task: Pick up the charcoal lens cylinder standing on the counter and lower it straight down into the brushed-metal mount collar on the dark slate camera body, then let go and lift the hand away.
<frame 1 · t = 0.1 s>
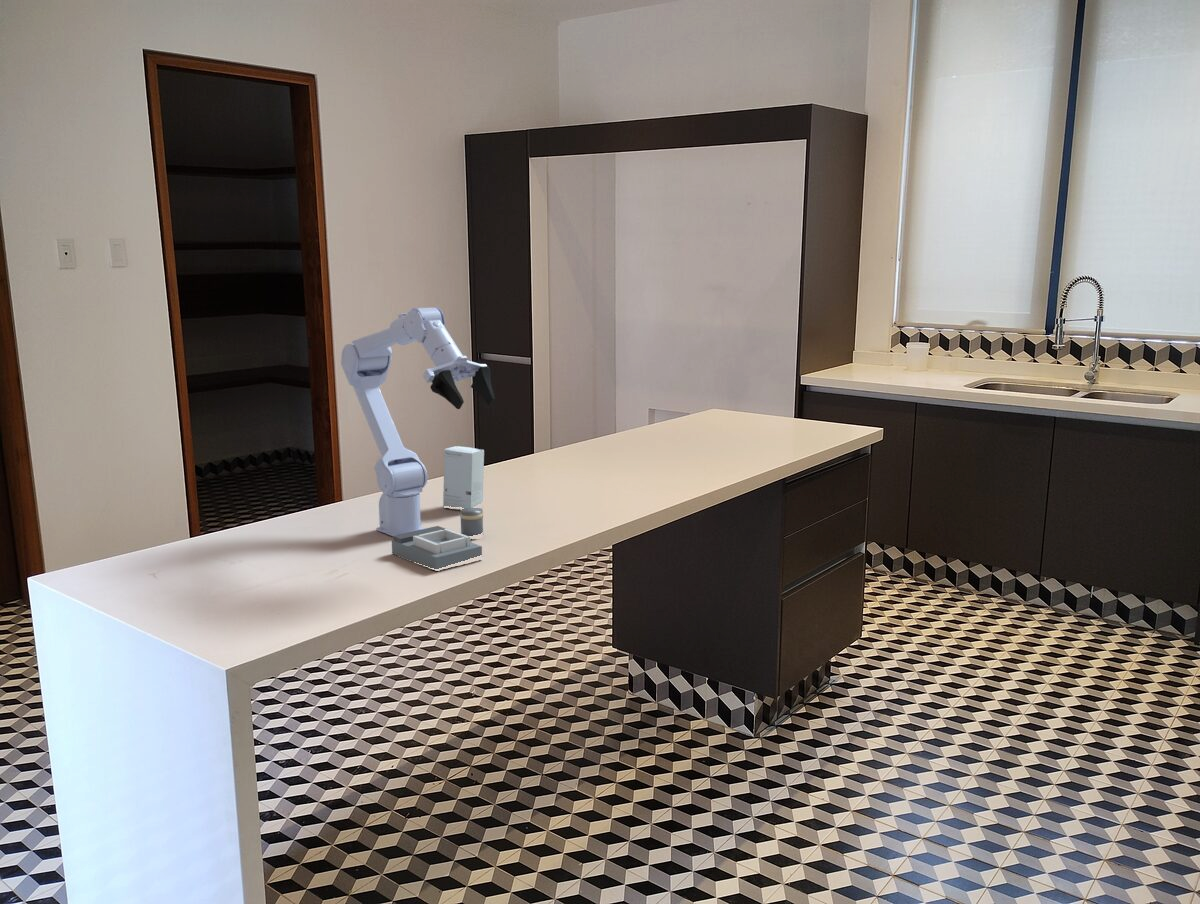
hand: (476, 403, 189), 32 cm above the kitchen island, tool tilted 50°, fingers open, 7 cm apart
skincare box: (464, 509, 235), on the kitchen island
lens: (472, 536, 212), on the kitchen island
camera body: (436, 557, 197), on the kitchen island
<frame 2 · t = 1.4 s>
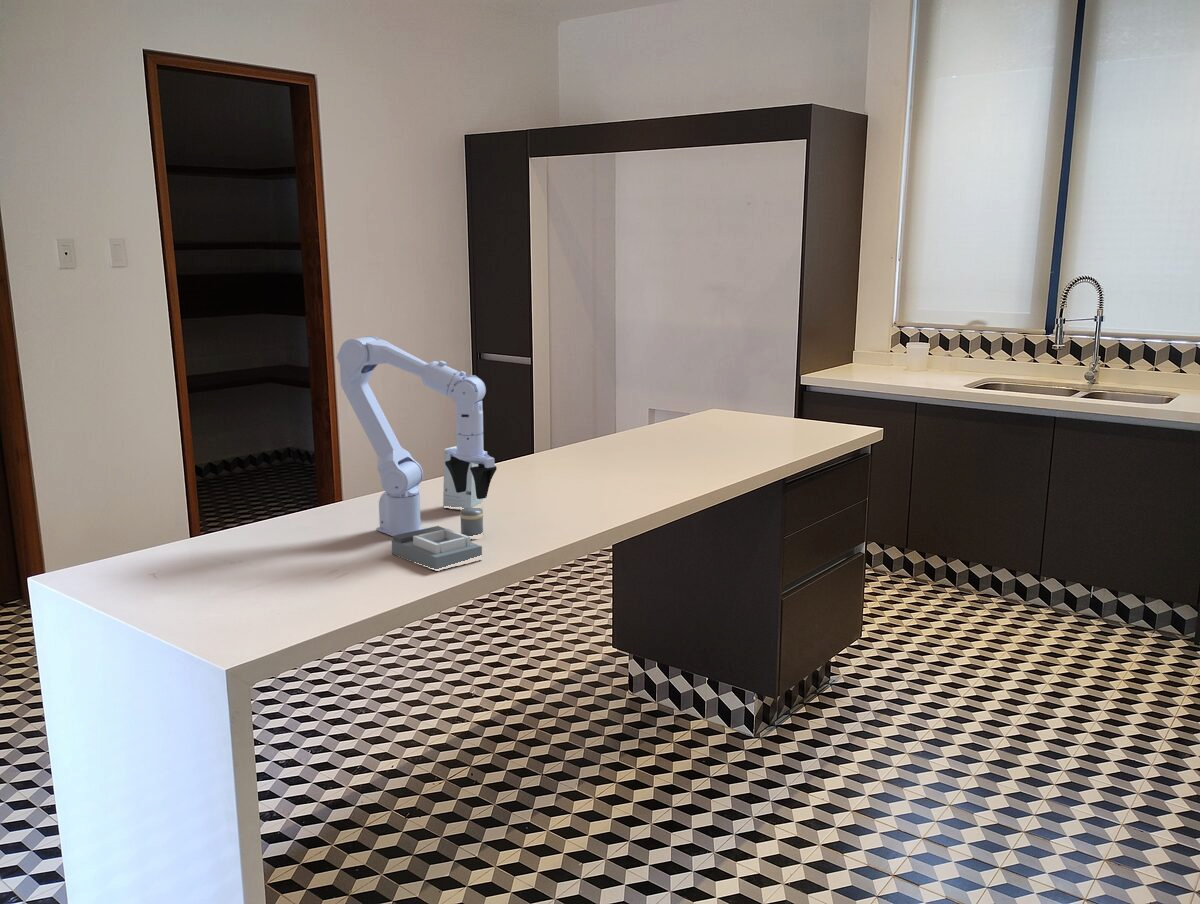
hand: (471, 495, 210), 9 cm above the kitchen island, tool pointing down, fingers open, 7 cm apart
nothing on the kitchen island moved.
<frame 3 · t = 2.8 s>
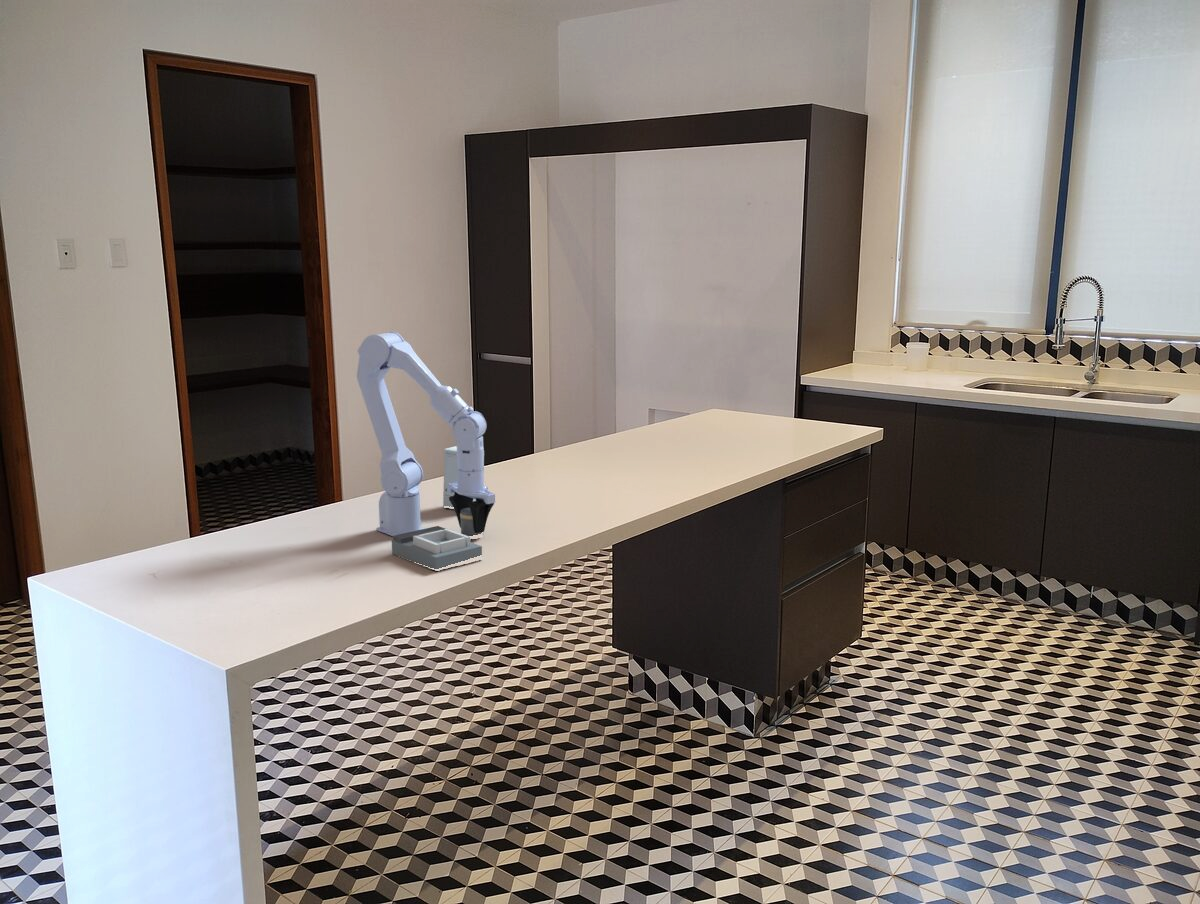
hand: (472, 529, 211), 2 cm above the kitchen island, tool pointing down, fingers closed on lens, 5 cm apart
lens: (472, 536, 212), on the kitchen island, touching gripper
everything else where it was.
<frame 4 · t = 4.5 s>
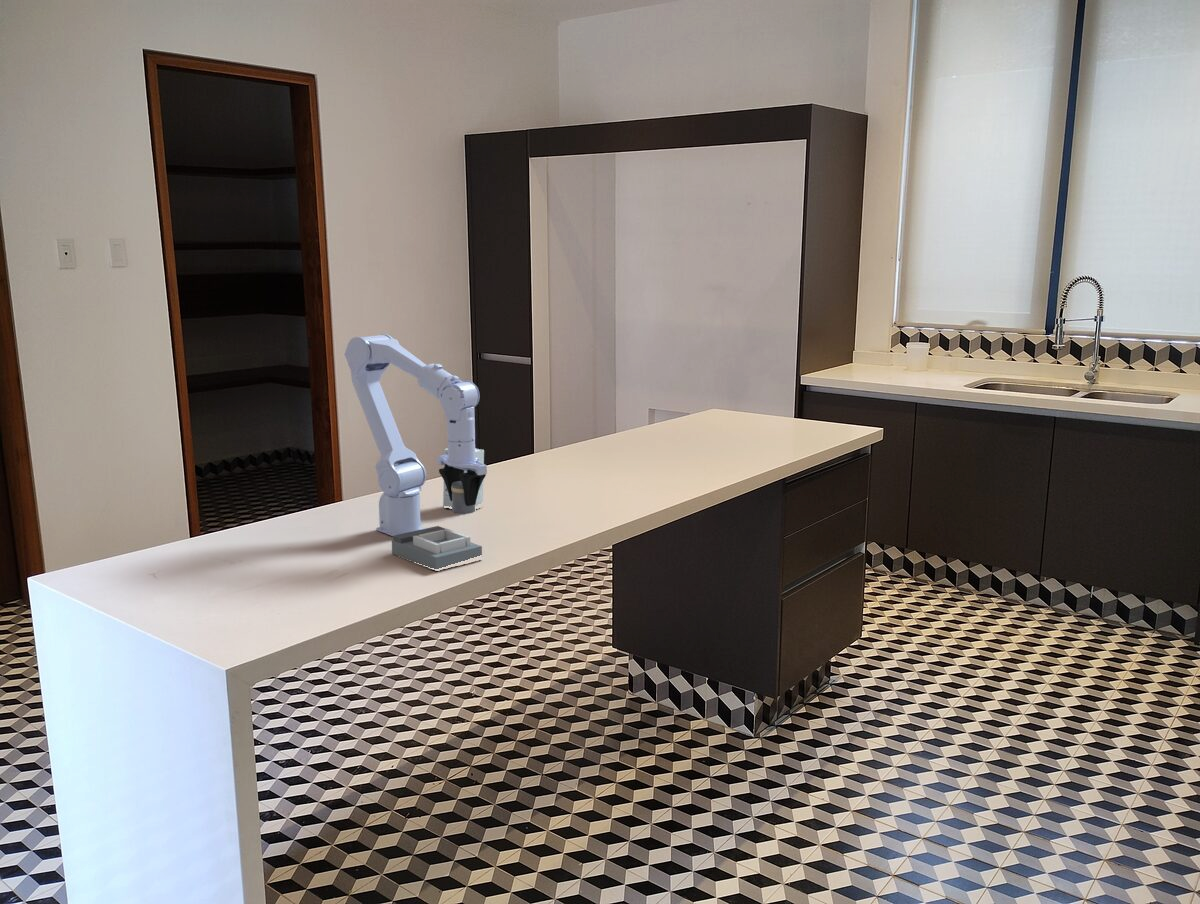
hand: (462, 502, 205), 9 cm above the kitchen island, tool pointing down, fingers closed on lens, 5 cm apart
lens: (463, 510, 206), point 7 cm above the kitchen island, touching gripper
everything else where it was.
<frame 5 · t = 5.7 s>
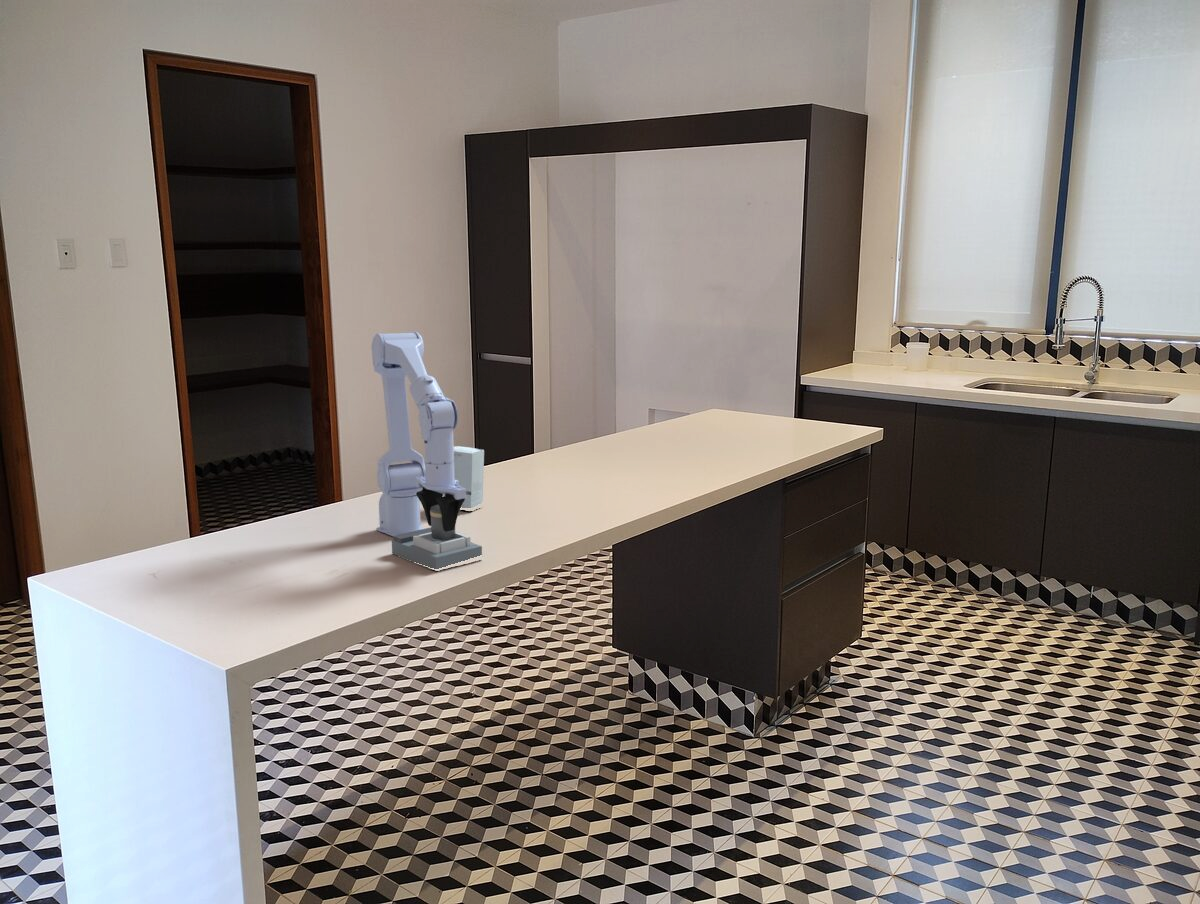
hand: (441, 527, 195), 7 cm above the kitchen island, tool pointing down, fingers closed on lens, 5 cm apart
lens: (443, 536, 195), point 5 cm above the kitchen island, touching gripper
everything else where it was.
when the fingers open (6 cm above the kitchen island, at t = 6.4 s): lens stays where it is, resting on camera body.
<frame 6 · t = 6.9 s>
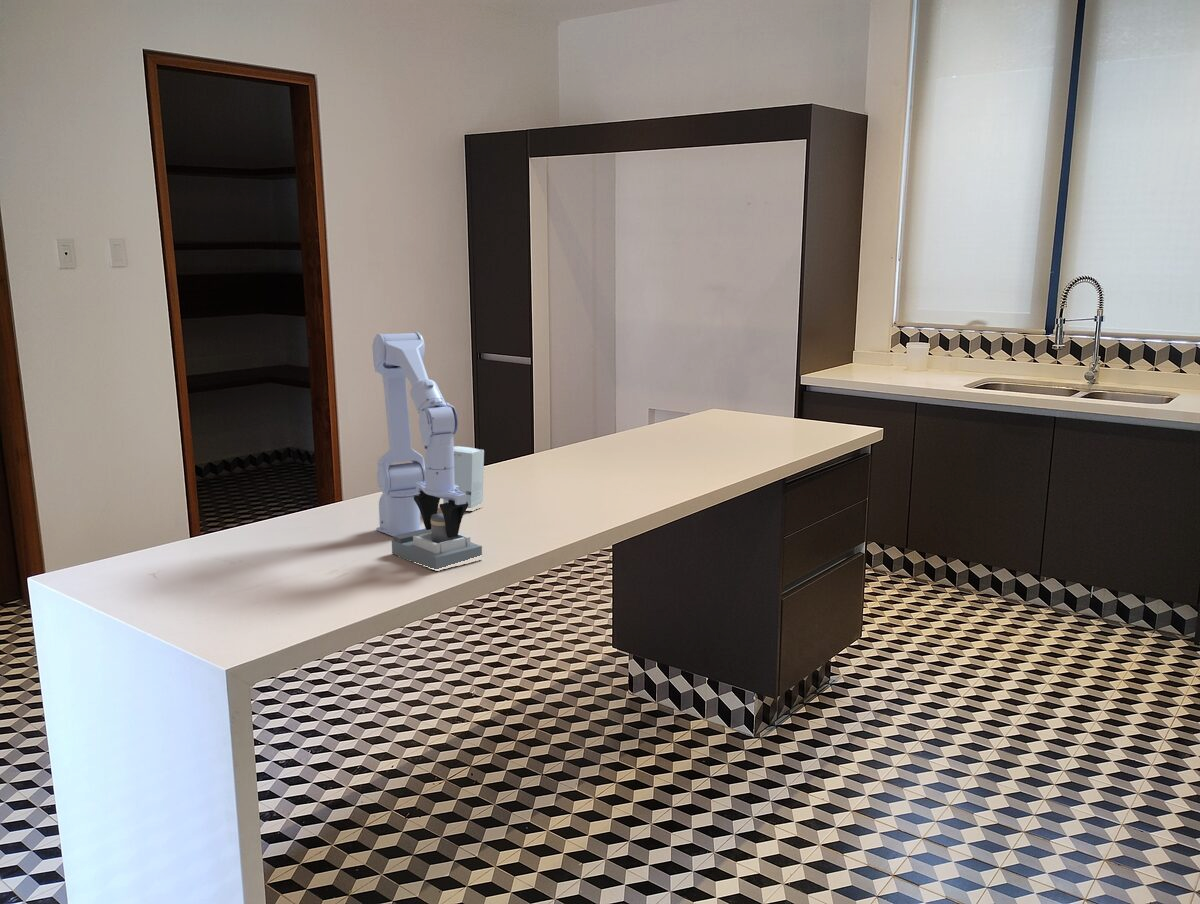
hand: (441, 532, 195), 6 cm above the kitchen island, tool pointing down, fingers open, 7 cm apart
lens: (443, 544, 196), point 3 cm above the kitchen island, touching camera body
everything else where it was.
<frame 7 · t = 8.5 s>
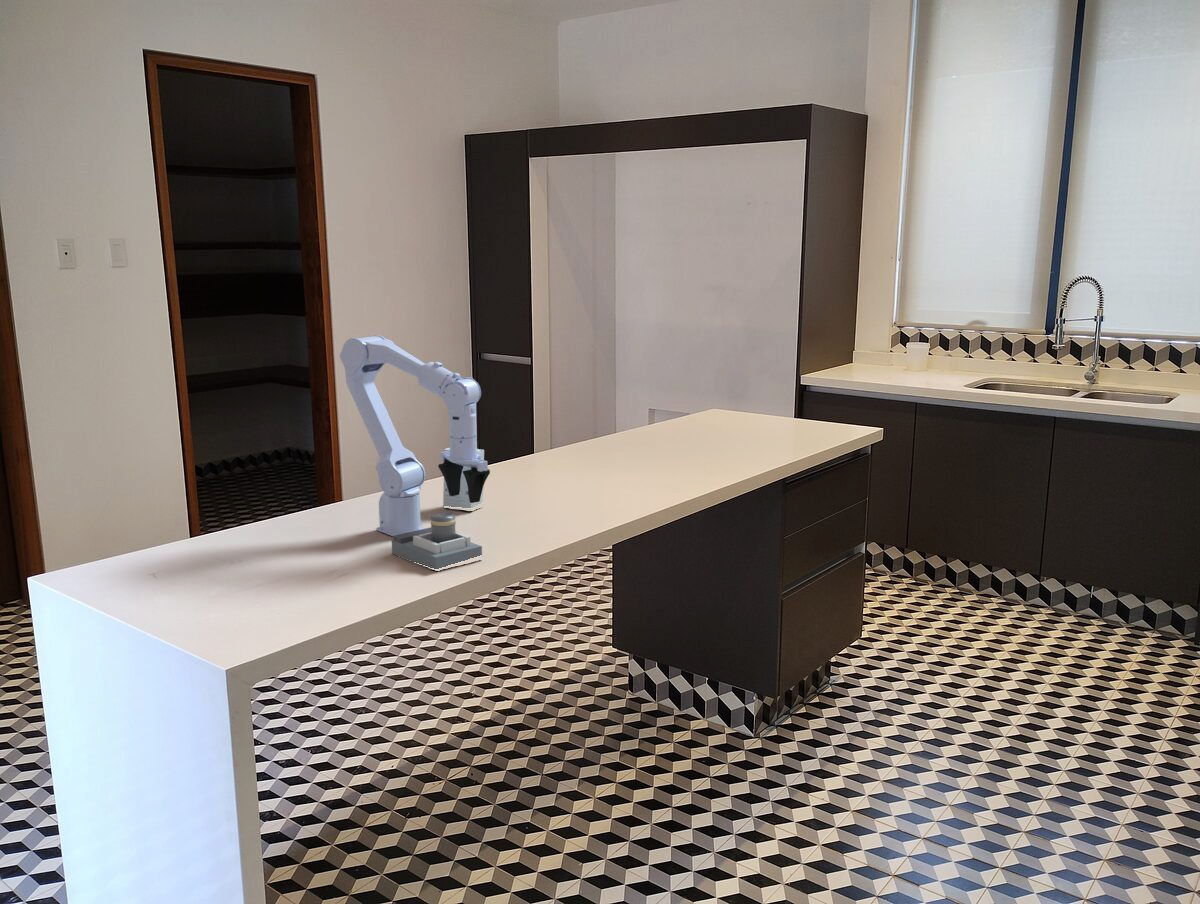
hand: (464, 498, 207), 9 cm above the kitchen island, tool pointing down, fingers open, 7 cm apart
nothing on the kitchen island moved.
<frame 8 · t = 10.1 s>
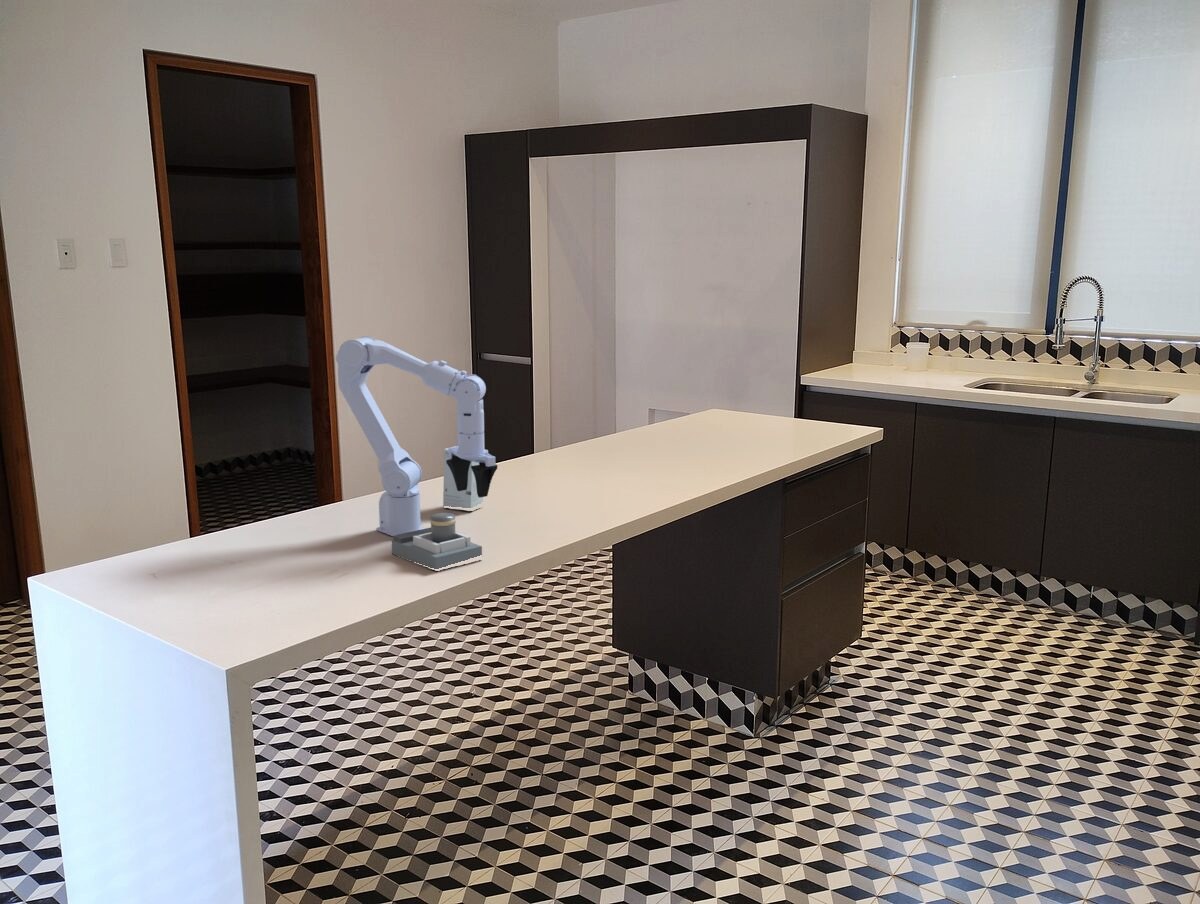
hand: (472, 493, 211), 9 cm above the kitchen island, tool pointing down, fingers open, 7 cm apart
nothing on the kitchen island moved.
at the end: lens 0.5 cm from the target spot on the camera body, point 3.0 cm above the camera body's base; lens tilted 0°; the gripper is holding nothing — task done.
